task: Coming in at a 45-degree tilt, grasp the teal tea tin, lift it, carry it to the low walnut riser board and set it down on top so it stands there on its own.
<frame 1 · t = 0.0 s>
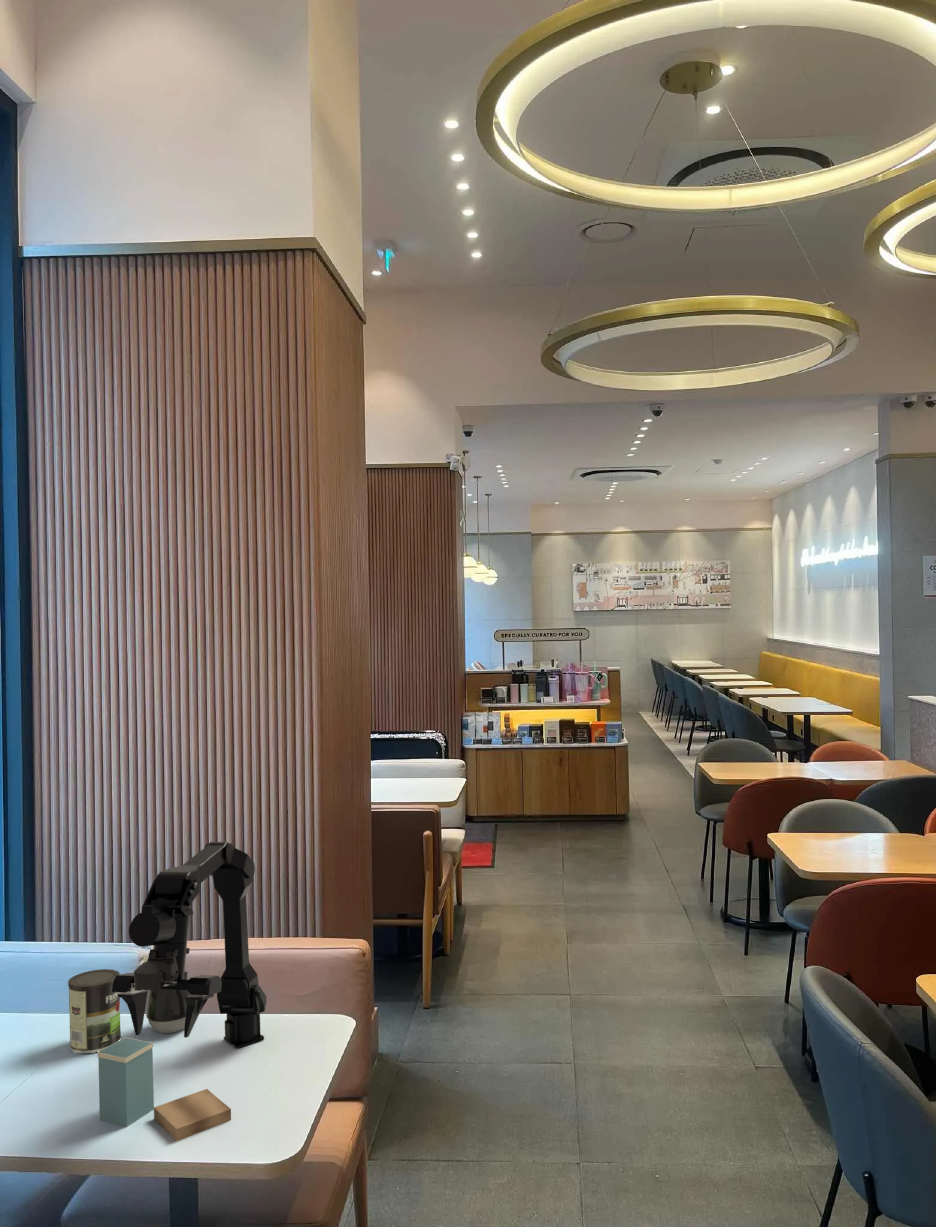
hand: (162, 1036, 165), 15 cm above the table, tool pointing down, fingers open, 9 cm apart
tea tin: (127, 1114, 168), on the table
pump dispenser: (171, 1029, 205), on the table
riser: (192, 1122, 166), on the table
coffee can: (95, 1044, 199), on the table
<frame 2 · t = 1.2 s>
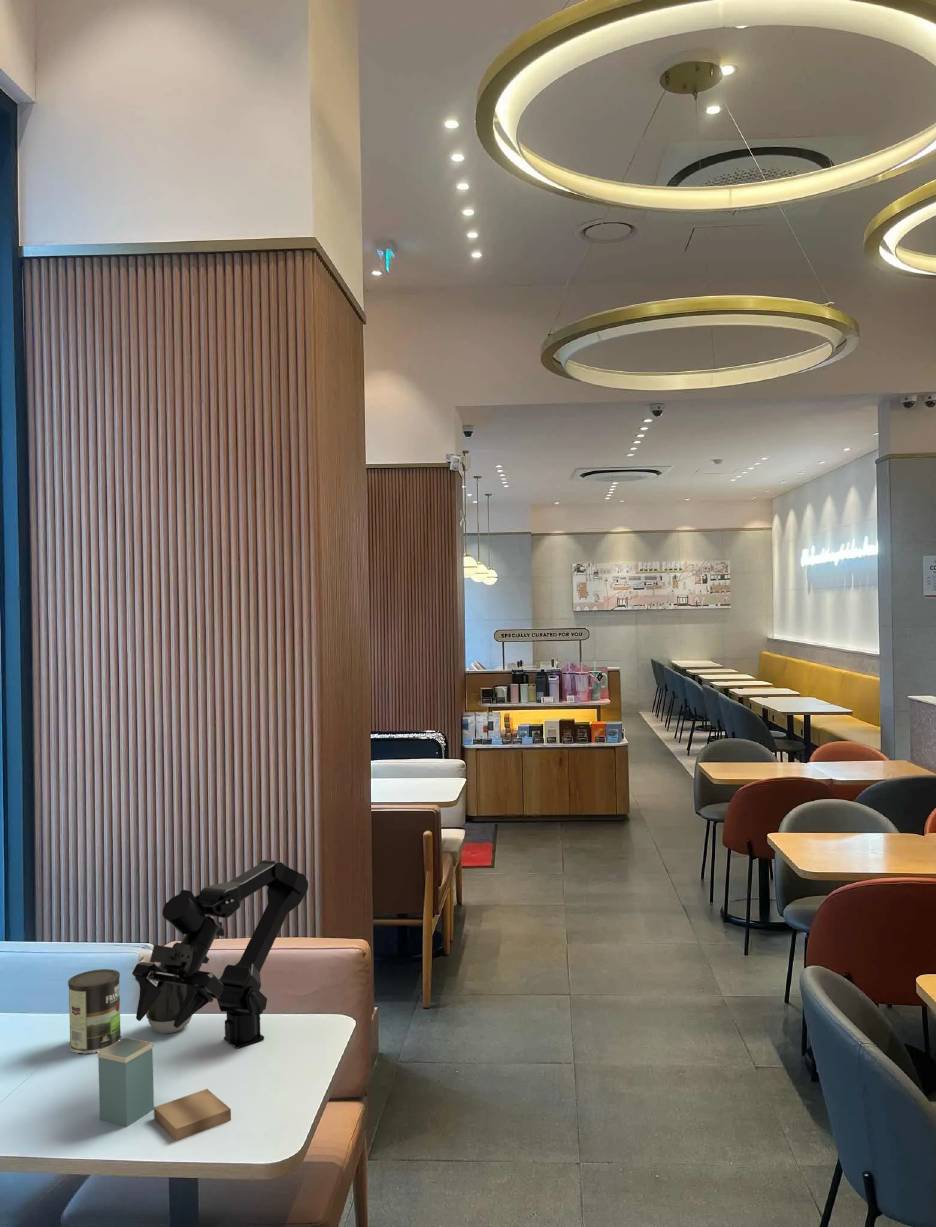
hand: (156, 1023, 176), 13 cm above the table, tool tilted 45°, fingers open, 9 cm apart
nothing on the table moved.
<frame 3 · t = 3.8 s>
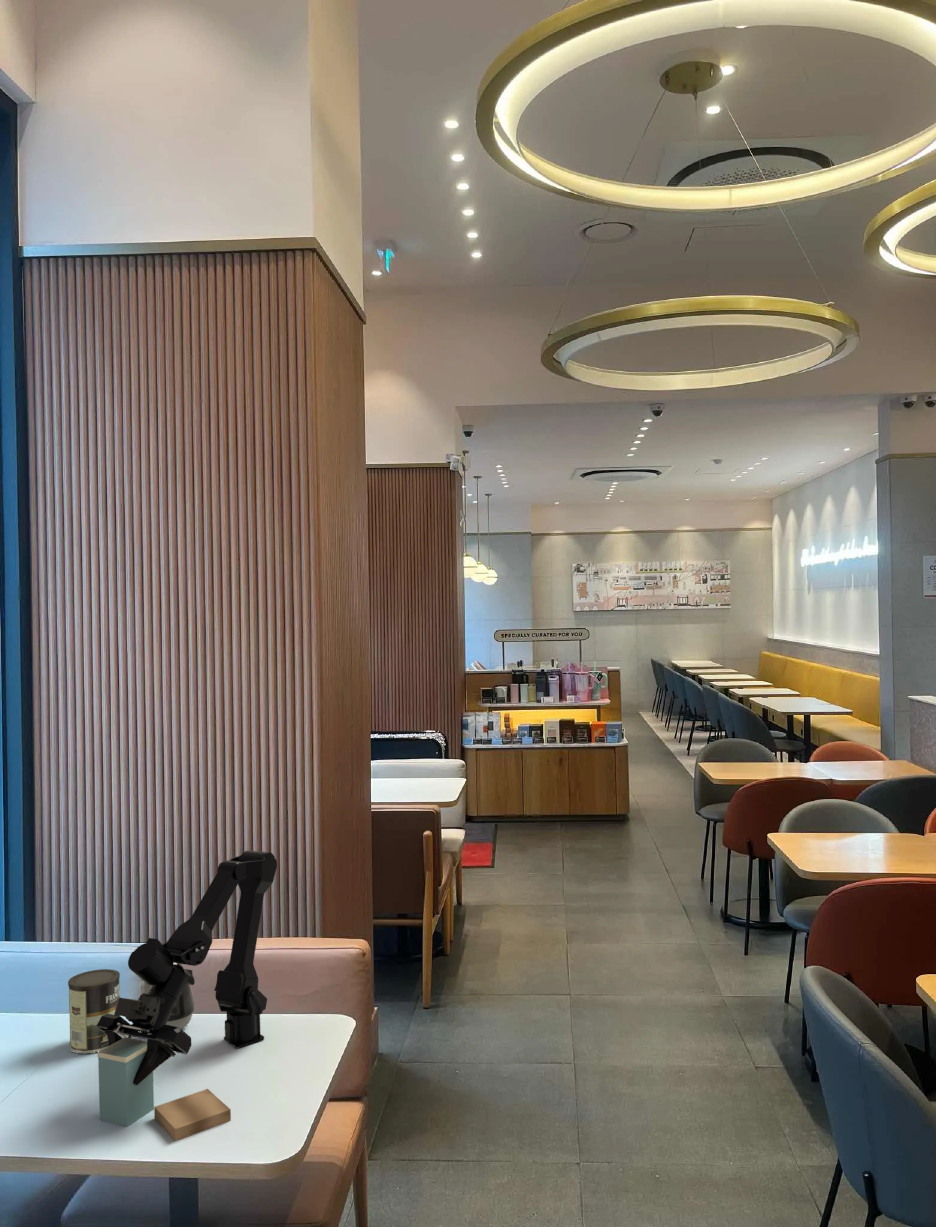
hand: (120, 1081, 167), 7 cm above the table, tool tilted 45°, fingers closed on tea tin, 6 cm apart
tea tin: (127, 1114, 168), on the table, touching gripper
everything else where it was.
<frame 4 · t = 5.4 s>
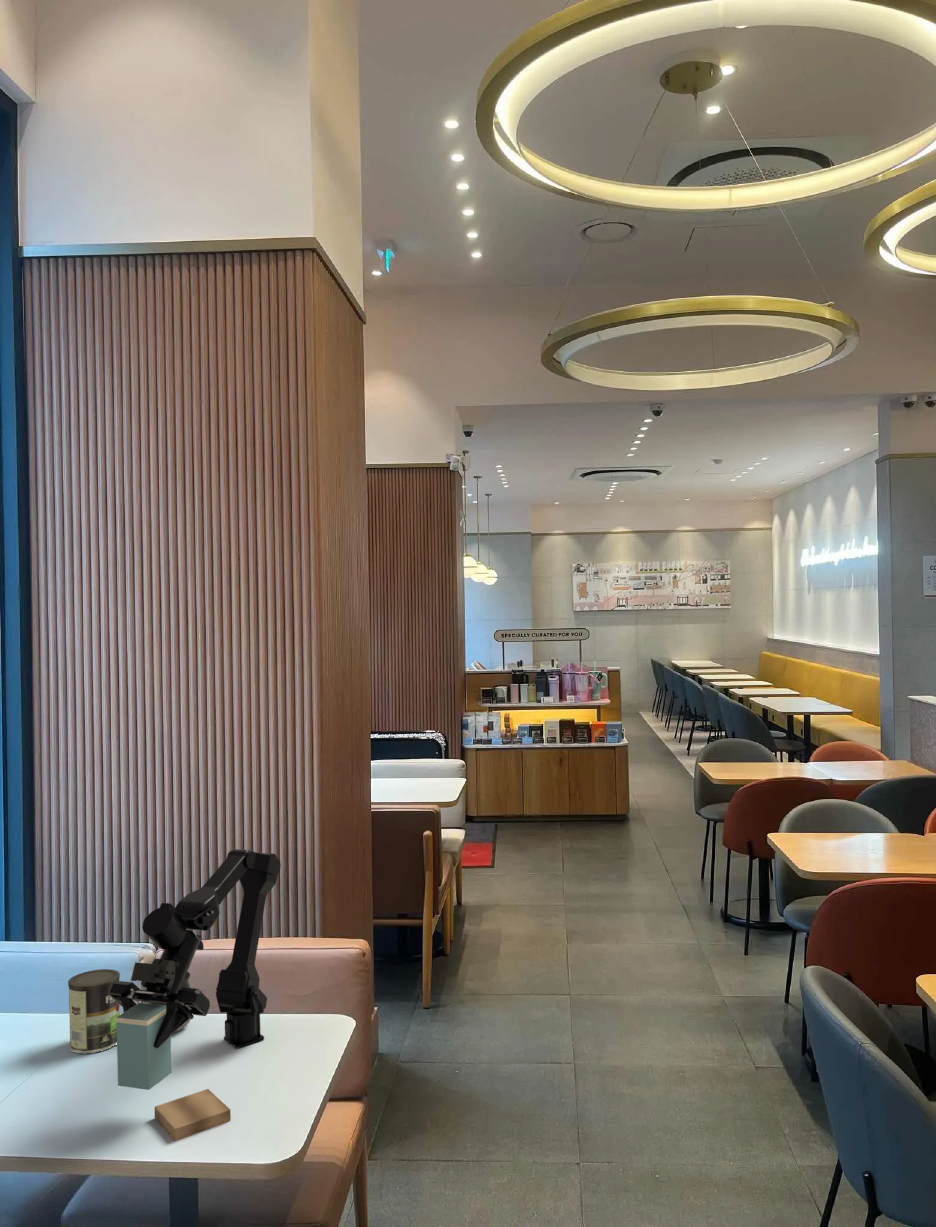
hand: (139, 1045, 166), 13 cm above the table, tool tilted 45°, fingers closed on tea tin, 6 cm apart
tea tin: (145, 1079, 167), point 7 cm above the table, touching gripper
everything else where it was.
when the fingers open (10 cm above the table, at t = 7.2 s): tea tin drops 2 cm, resting on riser.
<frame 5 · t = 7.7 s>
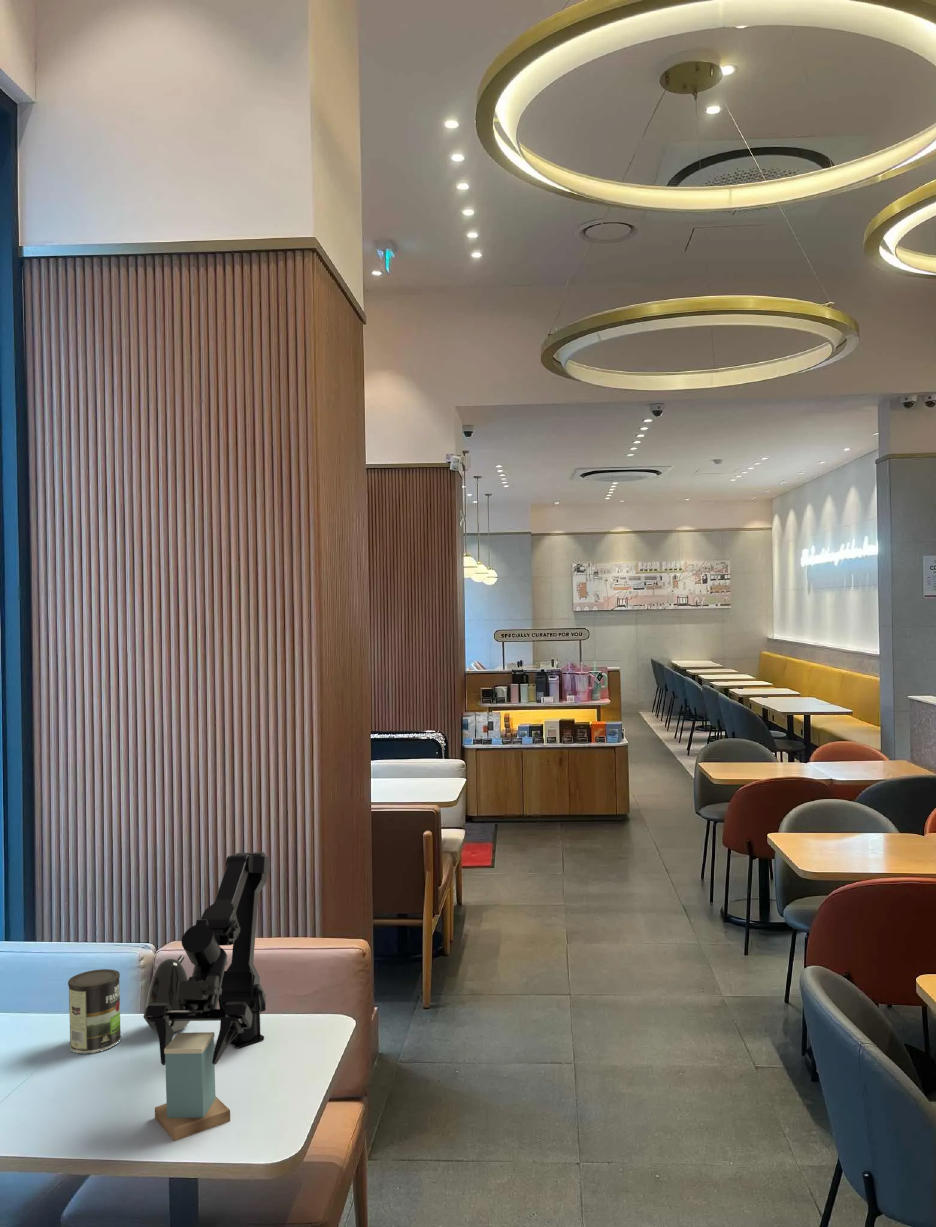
hand: (188, 1064, 165), 10 cm above the table, tool tilted 45°, fingers open, 9 cm apart
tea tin: (191, 1108, 166), point 2 cm above the table, touching riser
riser: (192, 1123, 166), on the table, touching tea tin
everything else where it was.
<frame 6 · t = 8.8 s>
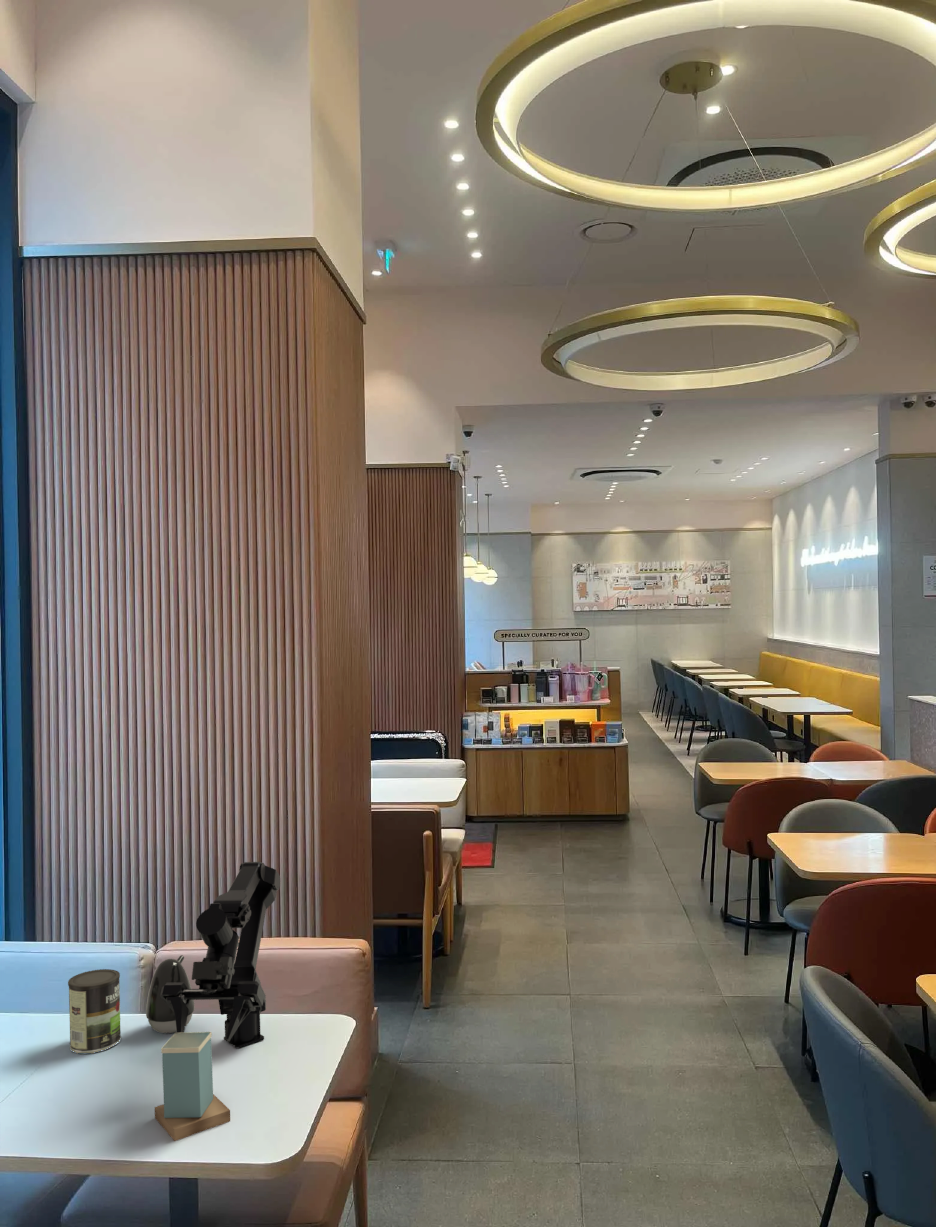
hand: (203, 1040, 173), 11 cm above the table, tool tilted 45°, fingers open, 9 cm apart
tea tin: (189, 1108, 166), point 2 cm above the table
riser: (192, 1123, 166), on the table
everything else where it was.
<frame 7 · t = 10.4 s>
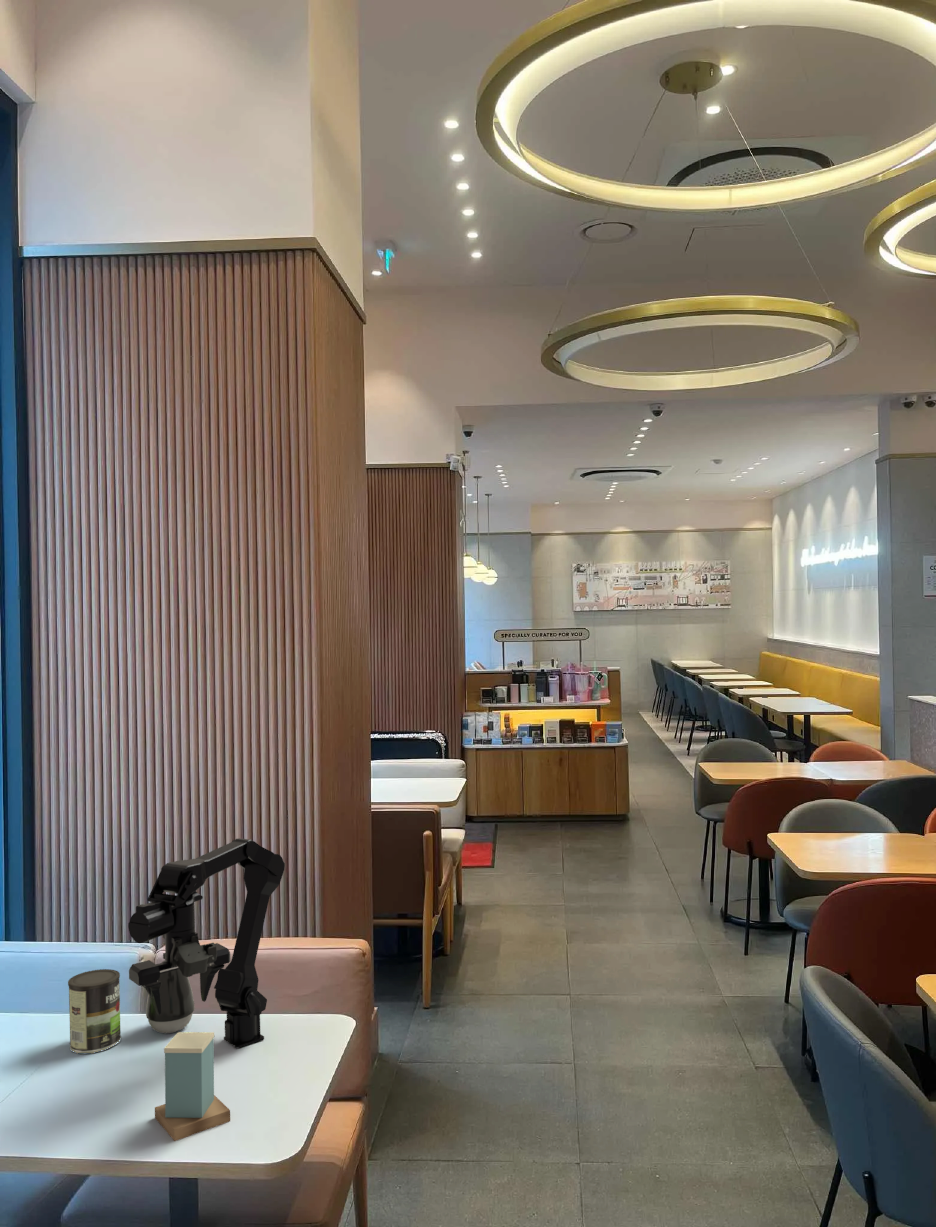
hand: (181, 1007, 184), 13 cm above the table, tool pointing down, fingers open, 9 cm apart
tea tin: (190, 1108, 166), point 2 cm above the table, touching riser
riser: (192, 1123, 166), on the table, touching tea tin
everything else where it was.
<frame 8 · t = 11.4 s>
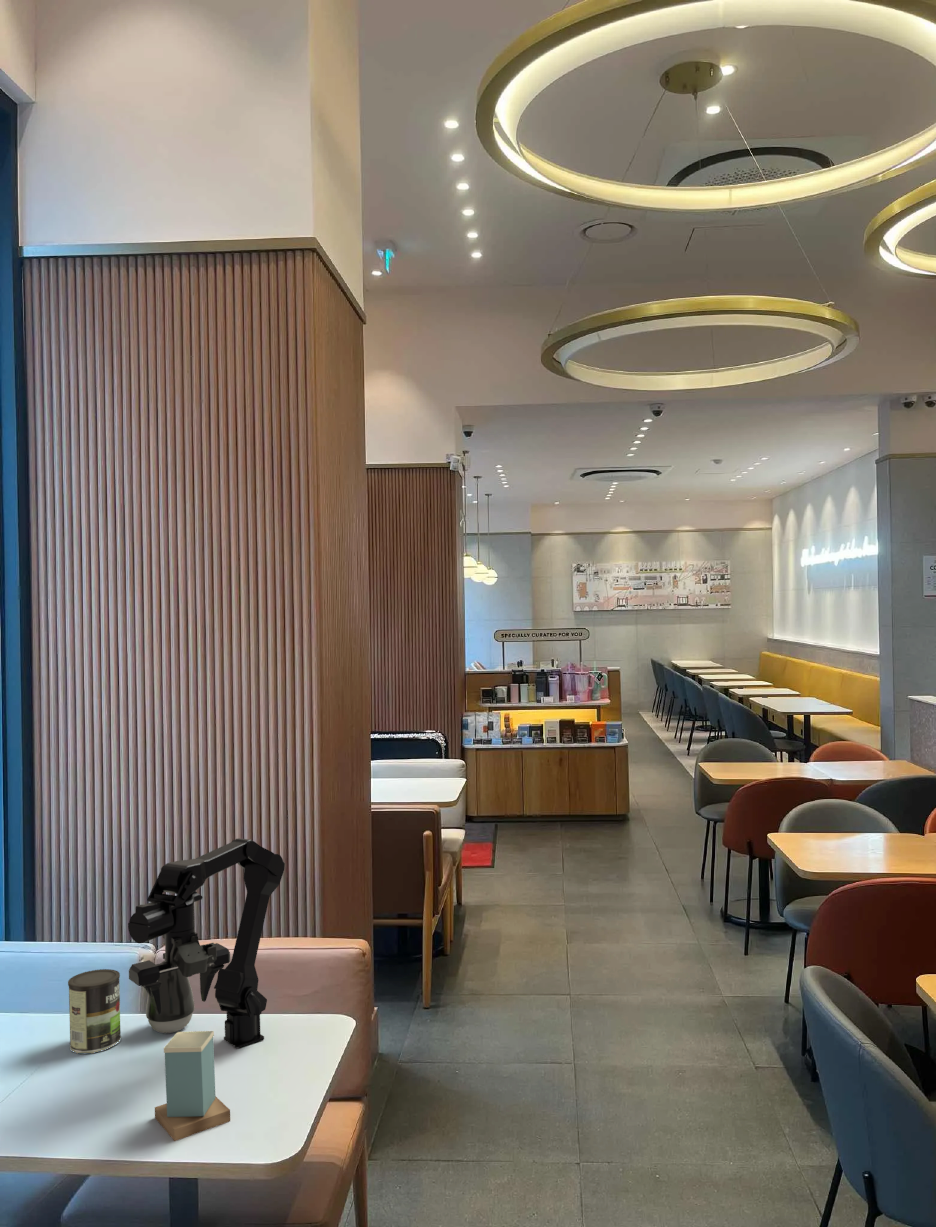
hand: (181, 1007, 184), 13 cm above the table, tool pointing down, fingers open, 9 cm apart
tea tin: (191, 1107, 166), point 2 cm above the table
riser: (192, 1123, 166), on the table
everything else where it was.
at the end: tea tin inside the target area on the riser (0.4 cm from its centre), point 2.5 cm above the riser's base; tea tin tilted 0°; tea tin touching riser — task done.
